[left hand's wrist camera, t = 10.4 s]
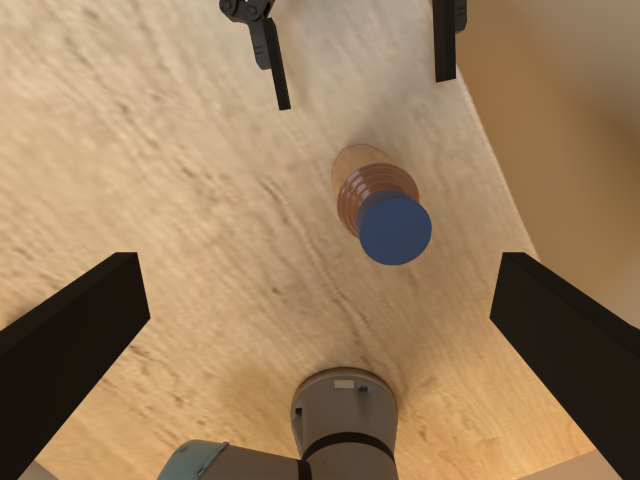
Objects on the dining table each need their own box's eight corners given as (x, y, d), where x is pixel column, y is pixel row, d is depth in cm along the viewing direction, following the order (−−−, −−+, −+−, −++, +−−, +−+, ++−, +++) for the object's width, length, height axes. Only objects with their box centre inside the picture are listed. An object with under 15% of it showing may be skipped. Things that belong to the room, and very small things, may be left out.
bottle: (332, 200, 39) (343, 279, 21) (330, 145, 36) (339, 181, 18) (385, 198, 38) (442, 275, 21) (386, 142, 36) (451, 175, 18)
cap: (356, 252, 22) (359, 267, 20) (355, 190, 21) (359, 199, 18) (419, 249, 22) (429, 263, 20) (422, 187, 20) (434, 195, 18)
